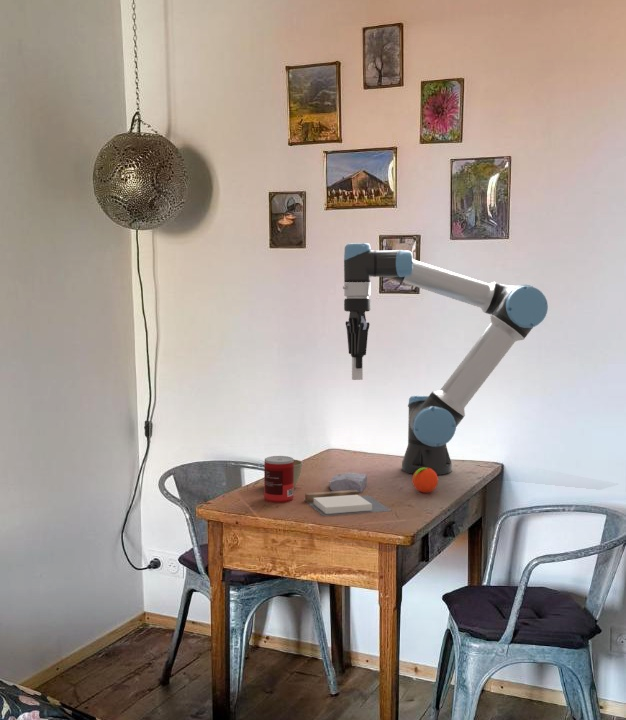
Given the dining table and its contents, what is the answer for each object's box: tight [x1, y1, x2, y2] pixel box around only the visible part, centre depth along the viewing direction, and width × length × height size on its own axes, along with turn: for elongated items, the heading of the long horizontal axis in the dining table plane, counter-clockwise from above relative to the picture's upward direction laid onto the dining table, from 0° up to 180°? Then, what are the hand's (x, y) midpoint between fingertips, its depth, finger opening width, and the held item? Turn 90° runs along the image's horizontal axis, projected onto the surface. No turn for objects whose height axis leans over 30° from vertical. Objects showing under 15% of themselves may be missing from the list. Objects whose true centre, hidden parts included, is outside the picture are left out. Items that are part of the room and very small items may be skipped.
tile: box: [314, 494, 372, 514], centre depth 208 cm, size 12×2×10 cm
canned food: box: [263, 455, 295, 504], centre depth 217 cm, size 8×8×11 cm
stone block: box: [328, 472, 368, 493], centre depth 231 cm, size 12×5×10 cm
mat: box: [307, 495, 393, 517], centre depth 211 cm, size 18×16×1 cm
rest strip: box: [304, 490, 360, 504], centre depth 216 cm, size 14×2×2 cm, turn 107°
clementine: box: [412, 467, 439, 494], centre depth 226 cm, size 8×7×7 cm
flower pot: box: [293, 458, 303, 487], centre depth 231 cm, size 10×10×7 cm
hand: (357, 379), depth 240 cm, fingers closed
